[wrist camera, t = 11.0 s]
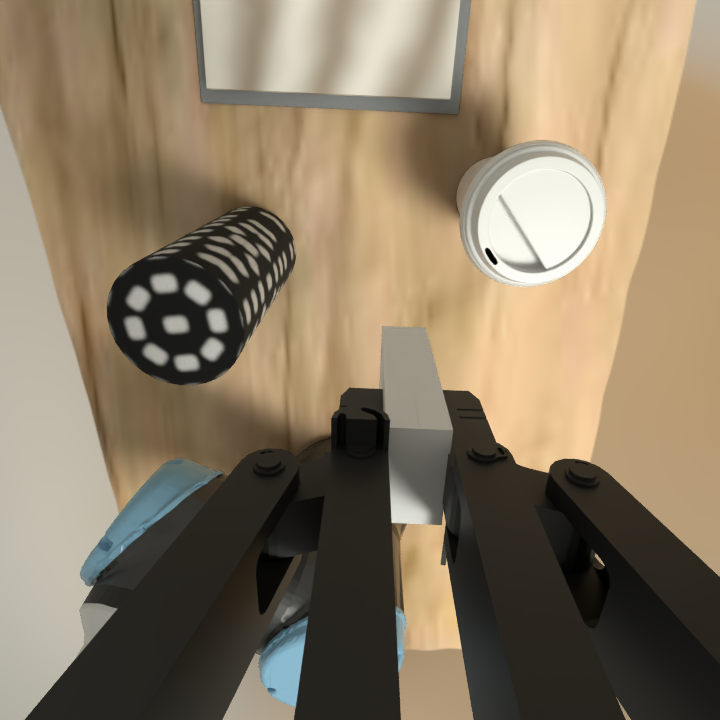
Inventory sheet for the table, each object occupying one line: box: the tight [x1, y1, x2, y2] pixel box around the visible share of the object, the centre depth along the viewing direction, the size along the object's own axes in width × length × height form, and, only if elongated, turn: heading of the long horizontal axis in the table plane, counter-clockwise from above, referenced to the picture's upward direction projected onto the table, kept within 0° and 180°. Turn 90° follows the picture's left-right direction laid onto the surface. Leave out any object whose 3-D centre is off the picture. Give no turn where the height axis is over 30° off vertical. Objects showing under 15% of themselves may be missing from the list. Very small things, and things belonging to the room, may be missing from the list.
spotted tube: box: [107, 207, 296, 385], centre depth 39 cm, size 8×8×20 cm
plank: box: [200, 0, 460, 100], centre depth 39 cm, size 20×9×1 cm, turn 88°
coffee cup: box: [456, 140, 606, 287], centre depth 38 cm, size 10×10×15 cm
